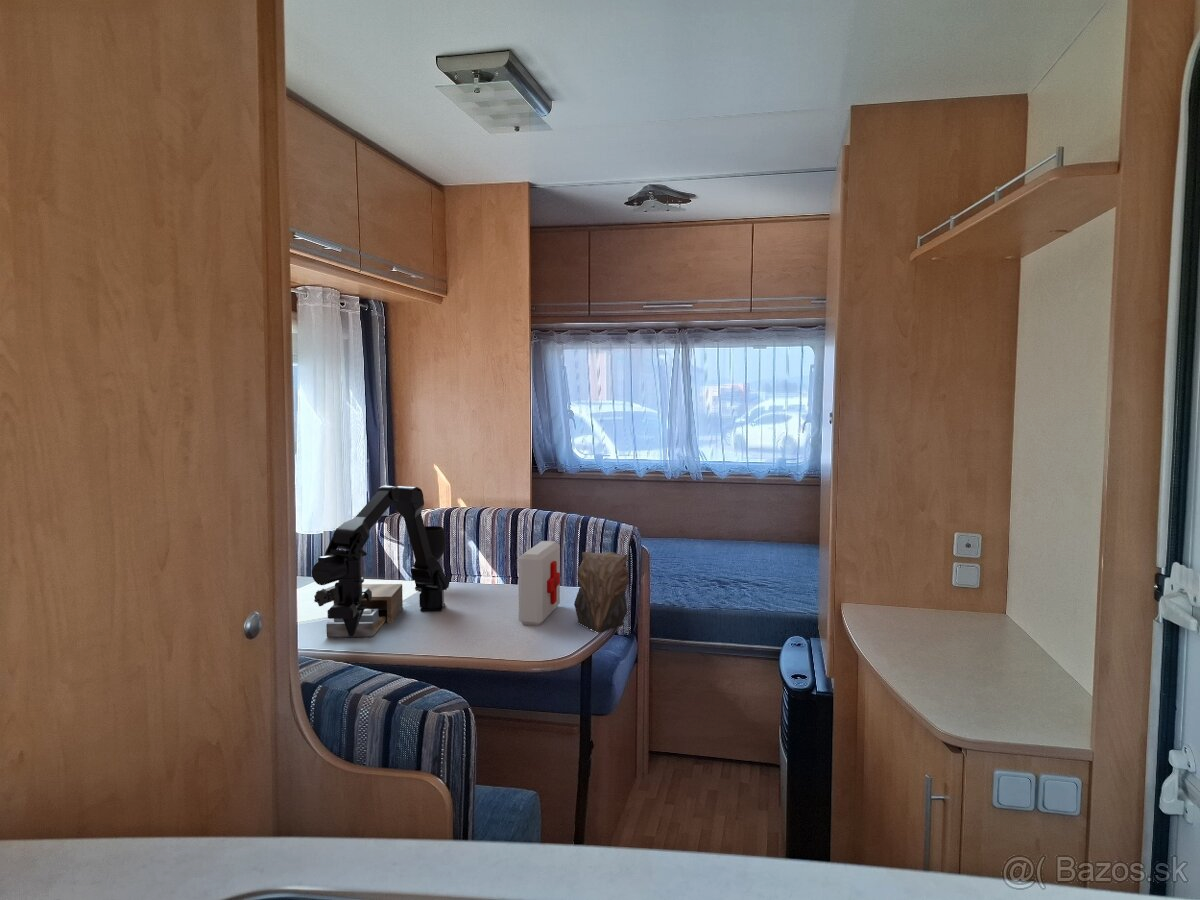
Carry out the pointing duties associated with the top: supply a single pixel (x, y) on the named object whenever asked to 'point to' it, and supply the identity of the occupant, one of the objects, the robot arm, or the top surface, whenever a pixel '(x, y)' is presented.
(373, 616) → the tray
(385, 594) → the open wooden box
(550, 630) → the top surface
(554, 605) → the bevelled white case
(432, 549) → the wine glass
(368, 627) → the shelf board
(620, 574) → the owl
